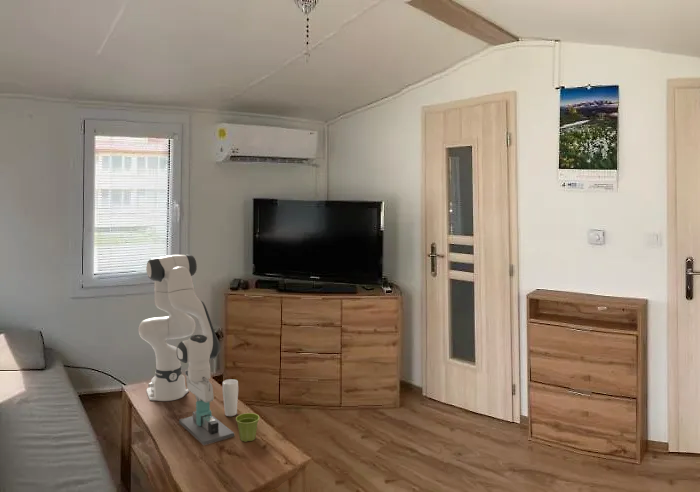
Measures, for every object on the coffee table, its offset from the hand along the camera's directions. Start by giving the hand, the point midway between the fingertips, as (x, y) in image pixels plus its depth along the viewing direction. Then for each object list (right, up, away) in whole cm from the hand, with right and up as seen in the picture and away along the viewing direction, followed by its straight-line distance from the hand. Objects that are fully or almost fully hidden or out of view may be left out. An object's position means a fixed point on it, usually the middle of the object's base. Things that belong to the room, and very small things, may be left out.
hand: (200, 406), depth 229 cm
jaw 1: (+3, -7, -5) cm, 9 cm away
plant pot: (+22, -10, -11) cm, 27 cm away
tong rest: (+4, -9, -4) cm, 10 cm away
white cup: (+10, -7, +12) cm, 17 cm away
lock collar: (+2, -7, -2) cm, 7 cm away
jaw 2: (+5, -7, -4) cm, 9 cm away
